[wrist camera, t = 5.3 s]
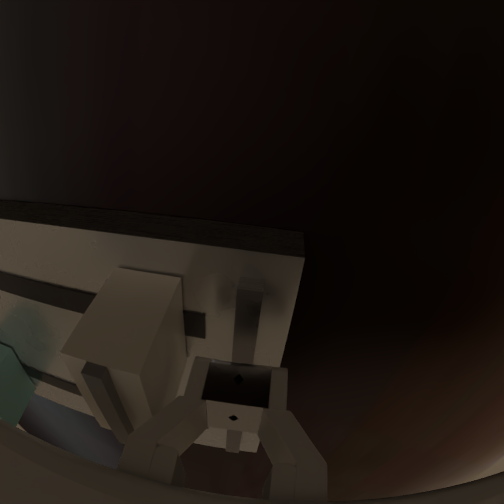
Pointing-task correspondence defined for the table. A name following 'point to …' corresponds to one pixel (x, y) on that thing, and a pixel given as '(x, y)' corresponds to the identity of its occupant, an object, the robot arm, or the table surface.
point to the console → (152, 261)
